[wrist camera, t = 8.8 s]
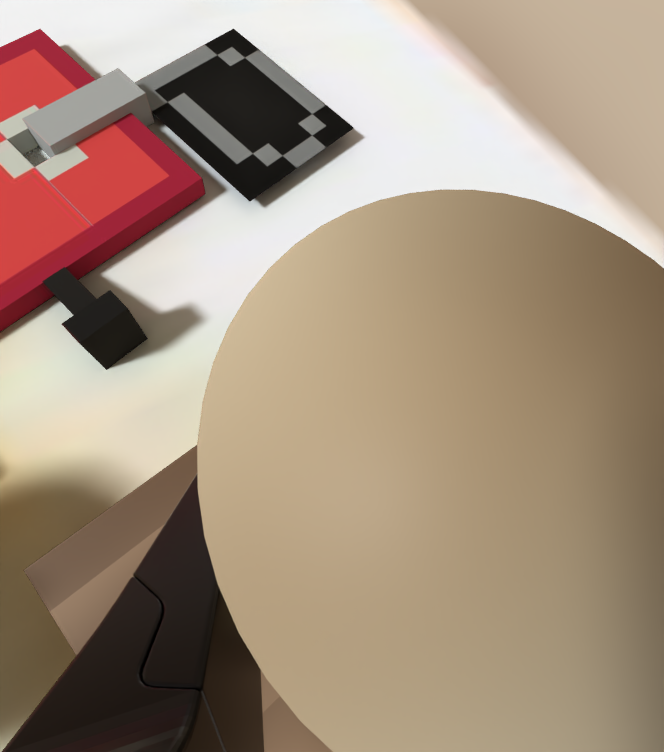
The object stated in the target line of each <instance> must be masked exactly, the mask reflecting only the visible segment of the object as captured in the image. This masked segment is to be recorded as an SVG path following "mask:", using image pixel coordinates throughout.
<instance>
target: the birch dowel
mask: <svg viewBox="0 0 664 752" xmlns="http://www.w3.org/2000/svg"><path fill="white" fill-rule="evenodd" d="M197 469H198V495H199V502H200V509H201V516H202V523H203V530H204V537H205V540H206V544H207V548H208V551H209V555H210V558H211V562H212V565H213V569H214V572H215V576H216V580H217V583H218V586H219V588H220V591H221V593H222V595H223V598H224V600H225V602H226V605H227V607H228V609H229V611H230V614H231V616H232V618H233V621H234V623H235V625H236V628H237V630H238V632H239V634H240V636H241V637H242V639H243V641H244V642H245V644H246V646H247V647H248V649H249V651H250V652H251V654H252V656H253V657H254V659H255V661H256V662H257V664H258V666H259V667H260V669H261V671H262V672H263V674H264V676H265V677H266V679H267V680H268V681H269V683H270V684H271V685H272V686H273V688H274V689H275V690H276V691H277V693H278V694H279V695H280V696H281V698H282V699H283V700H284V701H285V703H286V704H287V705H288V706H289V708H290V709H291V710H292V711H293V713H294V714H295V715H296V716H297V718H298V719H299V720H300V721H301V722H302V723H303V724H304V725H305V726H306V727H307V728H308V729H309V730H310V731H311V732H312V733H314V734H315V735H316V736H317V737H318V738H319V739H320V740H321V741H322V742H323V743H324V744H325V745H326V746H327V747H328V748H329V749H330V750H332V751H333V752H664V268H662V267H661V266H660V265H659V264H658V263H656V262H655V261H654V260H653V259H651V258H650V257H648V256H647V255H645V254H644V253H643V252H641V251H640V250H638V249H637V248H635V247H634V246H632V245H631V244H630V243H628V242H627V241H625V240H623V239H622V238H620V237H618V236H616V235H615V234H613V233H611V232H609V231H607V230H606V229H604V228H602V227H600V226H599V225H597V224H595V223H592V222H590V221H588V220H586V219H583V218H581V217H579V216H577V215H574V214H572V213H570V212H568V211H565V210H562V209H559V208H556V207H553V206H550V205H547V204H544V203H541V202H538V201H535V200H531V199H526V198H522V197H517V196H513V195H508V194H503V193H495V192H486V191H477V190H435V191H426V192H416V193H409V194H404V195H400V196H396V197H392V198H387V199H383V200H379V201H376V202H373V203H371V204H368V205H365V206H363V207H360V208H357V209H354V210H352V211H349V212H347V213H345V214H343V215H342V216H340V217H338V218H336V219H334V220H332V221H330V222H328V223H326V224H324V225H322V226H321V227H319V228H318V229H316V230H315V231H314V232H312V233H311V234H309V235H308V236H306V237H305V238H304V239H302V240H301V241H299V242H298V243H297V244H295V245H294V246H293V247H292V248H291V249H290V250H288V251H287V252H286V253H285V254H284V255H283V256H282V257H281V258H280V259H279V260H278V261H277V262H276V263H275V264H273V265H272V266H271V267H270V268H269V269H268V271H267V272H266V273H265V274H264V276H263V277H262V278H261V279H260V281H259V282H258V283H257V284H256V285H255V287H254V288H253V289H252V290H251V292H250V293H249V294H248V295H247V297H246V299H245V300H244V302H243V304H242V305H241V307H240V309H239V310H238V312H237V314H236V315H235V317H234V319H233V320H232V322H231V323H230V325H229V327H228V329H227V331H226V334H225V336H224V339H223V341H222V343H221V346H220V348H219V350H218V353H217V355H216V357H215V360H214V362H213V366H212V369H211V373H210V377H209V380H208V384H207V388H206V391H205V395H204V399H203V403H202V411H201V419H200V427H199V435H198V442H197Z"/></svg>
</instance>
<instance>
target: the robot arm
mask: <svg viewBox="0 0 664 752" xmlns="http://www.w3.org/2000/svg"><path fill="white" fill-rule="evenodd" d="M2 752H264V733H263V711H262V688H261V669H260V667H259V666H258V664H257V662H256V661H255V659H254V657H253V656H252V654H251V652H250V651H249V649H248V647H247V646H246V644H245V642H244V641H243V639H242V637H241V636H240V634H239V632H238V630H237V628H236V625H235V623H234V621H233V618H232V616H231V614H230V611H229V609H228V607H227V605H226V602H225V600H224V598H223V595H222V593H221V591H220V588H219V586H218V583H217V580H216V576H215V572H214V569H213V565H212V562H211V558H210V555H209V551H208V548H207V544H206V540H205V537H204V530H203V523H202V516H201V509H200V502H199V495H198V473H197V474H196V476H195V477H194V479H193V480H192V482H191V484H190V485H189V487H188V488H187V490H186V491H185V493H184V495H183V496H182V498H181V499H180V501H179V502H178V504H177V506H176V507H175V509H174V510H173V512H172V513H171V515H170V517H169V518H168V520H167V521H166V523H165V524H164V526H163V528H162V529H161V531H160V532H159V534H158V535H157V537H156V539H155V540H154V542H153V543H152V545H151V546H150V548H149V550H148V551H147V553H146V554H145V556H144V557H143V559H142V561H141V562H140V564H139V565H138V567H137V568H136V570H135V572H134V573H133V577H131V578H130V579H129V581H128V582H127V584H126V585H125V587H124V589H123V590H122V592H121V593H120V595H119V596H118V598H117V599H116V601H115V602H114V604H113V605H112V607H111V608H110V610H109V611H108V613H107V614H106V616H105V617H104V619H103V620H102V622H101V623H100V625H99V626H98V627H97V629H96V630H95V631H94V633H93V634H92V635H91V637H90V638H89V639H88V641H87V642H86V643H85V645H84V646H83V647H82V649H81V650H80V651H79V653H78V654H77V655H76V657H75V658H74V660H73V661H72V662H71V663H70V665H69V666H68V667H67V669H66V670H65V671H64V672H63V674H62V675H61V676H60V678H59V679H58V680H57V681H56V683H55V684H54V685H53V687H52V688H51V689H50V690H49V692H48V693H47V694H46V696H45V697H44V698H43V699H42V701H41V702H40V703H39V705H38V706H37V707H36V708H35V710H34V711H33V712H32V714H31V715H30V716H29V717H28V719H27V720H26V721H25V723H24V724H23V725H22V726H21V728H20V729H19V730H18V732H17V733H16V734H15V735H14V737H13V738H12V739H11V741H10V742H9V743H8V744H7V746H6V747H5V748H4V749H3V751H2Z"/></svg>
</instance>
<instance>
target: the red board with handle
mask: <svg viewBox="0 0 664 752" xmlns="http://www.w3.org/2000/svg"><path fill="white" fill-rule="evenodd" d="M151 112H152V113H153V114H154V115H155V116H156V117H158V118H159V119H160V120H161V121H162V122H163V123H164V124H165V125H166V126H167V127H169V128H170V129H171V130H172V131H173V132H174V133H175V134H176V135H177V136H178V137H180V138H181V139H182V140H183V141H184V142H185V143H186V144H187V145H188V146H189V147H191V148H192V149H193V150H194V151H195V152H196V153H197V154H198V155H199V156H200V157H201V158H203V159H204V160H205V161H206V162H207V163H208V164H209V165H210V166H211V167H212V168H214V169H215V170H216V171H217V172H218V173H219V174H220V175H221V176H222V177H223V178H225V179H226V180H227V181H228V182H229V183H230V184H231V185H232V186H233V187H234V188H236V189H237V190H238V191H239V192H240V193H241V194H242V195H243V196H244V197H245V198H247V199H248V200H249V201H251V200H253V199H254V198H256V197H257V196H258V195H260V194H261V193H263V192H264V191H265V190H267V189H268V188H270V187H271V186H273V185H274V184H275V183H277V182H278V181H280V180H281V179H282V178H284V177H285V176H287V175H288V174H289V173H291V172H292V171H294V170H295V169H297V168H298V167H299V166H301V165H302V164H304V163H305V162H306V161H308V160H309V159H311V158H312V157H314V156H315V155H316V154H318V153H319V152H321V151H322V150H323V149H325V148H326V147H328V146H329V145H331V144H332V143H333V142H335V141H336V140H338V139H339V138H340V137H342V136H343V135H345V134H346V133H347V132H349V131H350V130H352V129H353V127H352V126H351V125H350V124H348V123H347V122H346V121H345V120H343V119H342V118H341V117H340V116H339V115H337V114H336V113H335V112H334V111H333V110H331V109H330V108H329V107H328V106H327V105H325V104H324V103H323V102H322V101H320V100H319V99H318V98H317V97H316V96H314V95H313V94H312V93H311V92H310V91H308V90H307V89H306V88H305V87H304V86H302V85H301V84H300V83H299V82H297V81H296V80H295V79H294V78H293V77H291V76H290V75H289V74H288V73H287V72H285V71H284V70H283V69H282V68H280V67H279V66H278V65H277V64H276V63H274V62H273V61H272V60H271V59H270V58H268V57H267V56H266V55H265V54H264V53H262V52H261V51H260V50H259V49H257V48H256V47H255V46H254V45H253V44H251V43H250V42H249V41H248V40H247V39H245V38H244V37H243V36H242V35H240V34H239V33H238V32H237V31H236V30H234V29H232V30H230V31H229V32H227V33H225V34H223V35H221V36H219V37H218V38H216V39H214V40H212V41H210V42H208V43H207V44H205V45H203V46H201V47H199V48H197V49H195V50H194V51H192V52H190V53H188V54H186V55H184V56H183V57H181V58H179V59H177V60H175V61H173V62H172V63H170V64H168V65H166V66H164V67H162V68H161V69H159V70H157V71H155V72H153V73H151V74H149V75H148V76H146V77H144V78H142V79H140V80H138V81H137V82H135V83H134V82H133V81H132V80H131V79H130V78H128V77H127V76H126V75H125V74H124V73H123V72H122V71H121V70H120V69H118V68H117V69H116V70H114V71H112V72H110V73H108V74H106V75H104V76H102V77H100V78H98V79H97V80H95V79H94V78H93V77H92V76H91V75H90V74H89V73H87V72H86V71H85V70H84V69H83V68H82V67H81V66H80V65H79V64H78V63H77V62H76V61H74V60H73V59H72V58H71V57H70V56H69V55H68V54H67V53H66V52H65V51H64V50H62V49H61V48H60V47H59V46H58V45H57V44H56V43H55V42H54V41H53V40H52V39H51V38H49V37H48V36H47V35H46V34H45V33H44V32H43V31H42V30H41V29H39V30H36V31H34V32H32V33H30V34H28V35H26V36H24V37H21V38H19V39H17V40H15V41H13V42H11V43H8V44H6V45H4V46H2V47H0V332H1V331H2V330H4V329H5V328H7V327H8V326H10V325H11V324H13V323H14V322H16V321H17V320H19V319H20V318H22V317H23V316H25V315H26V314H28V313H29V312H31V311H32V310H34V309H35V308H37V307H38V306H40V305H41V304H43V303H44V302H45V301H47V300H48V299H50V298H51V297H53V296H54V295H55V296H56V297H57V298H58V299H59V300H60V301H61V302H62V303H63V304H64V305H65V306H66V308H67V309H68V310H69V311H70V312H71V313H72V314H73V315H74V316H72V317H71V318H69V319H68V320H66V321H65V322H64V323H62V325H63V326H64V327H65V328H66V329H67V330H68V332H69V333H70V334H71V335H72V336H73V337H74V338H75V339H76V340H77V341H78V342H79V343H80V344H81V345H82V346H83V347H84V348H85V349H86V350H87V351H88V352H89V353H90V354H91V355H92V356H93V357H94V358H95V359H96V360H97V361H98V362H99V363H100V364H101V365H102V366H103V367H104V368H105V369H106V370H107V369H108V368H109V367H111V366H112V365H113V364H115V363H116V362H117V361H119V360H120V359H121V358H123V357H124V356H125V355H127V354H128V353H129V352H131V351H132V350H133V349H135V348H136V347H137V346H139V345H140V344H141V343H143V342H144V341H145V340H147V339H148V338H147V337H146V335H145V334H144V332H143V331H142V329H141V328H140V326H139V325H138V323H137V322H136V320H135V319H134V317H133V316H132V314H131V313H130V311H129V310H128V308H127V307H126V306H125V305H124V304H123V303H122V302H121V301H120V300H119V299H118V298H117V297H116V296H115V295H114V294H113V293H112V292H111V291H110V290H109V291H108V292H107V293H105V294H104V295H102V296H101V297H99V298H98V299H96V298H95V297H94V296H93V295H92V294H91V293H90V292H89V291H88V290H87V289H86V288H85V287H84V286H83V285H82V284H81V283H80V282H79V281H78V279H80V278H81V277H83V276H84V275H86V274H87V273H89V272H90V271H92V270H93V269H95V268H96V267H97V266H99V265H100V264H102V263H103V262H105V261H106V260H108V259H109V258H111V257H112V256H114V255H115V254H117V253H118V252H120V251H121V250H123V249H124V248H126V247H127V246H129V245H130V244H132V243H133V242H135V241H136V240H138V239H139V238H141V237H142V236H144V235H145V234H147V233H148V232H149V231H151V230H152V229H154V228H155V227H157V226H158V225H160V224H161V223H163V222H164V221H166V220H167V219H169V218H170V217H172V216H173V215H175V214H176V213H178V212H179V211H181V210H182V209H184V208H185V207H187V206H188V205H190V204H191V203H193V202H194V201H196V200H197V199H198V198H200V197H201V196H203V195H204V194H205V189H204V185H203V180H202V178H201V177H200V176H199V175H198V174H197V173H196V172H195V171H194V170H193V169H192V168H191V167H190V166H188V165H187V164H186V163H185V162H184V161H183V160H182V159H181V158H180V157H179V156H178V155H177V154H175V153H174V152H173V151H172V150H171V149H170V148H169V147H168V146H167V145H166V144H165V143H163V142H162V141H161V140H160V139H159V138H158V137H157V136H156V135H155V134H154V133H153V132H152V131H150V130H149V129H148V128H147V126H149V125H151V124H153V123H154V119H153V116H152V113H151ZM38 146H39V147H40V148H41V149H42V150H43V151H44V152H45V153H46V154H47V155H48V156H49V157H50V159H48V160H46V161H44V162H42V163H41V164H39V165H37V166H35V167H34V166H33V165H32V164H31V162H30V161H29V160H28V159H27V158H26V157H25V156H24V155H23V154H25V153H27V152H29V151H31V150H33V149H35V148H36V147H38Z"/></svg>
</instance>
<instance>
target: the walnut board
mask: <svg viewBox="0 0 664 752" xmlns="http://www.w3.org/2000/svg"><path fill="white" fill-rule="evenodd" d="M197 473H198V469H197V445H196V446H195V447H193V448H192V449H191V450H189V451H188V452H187V453H185V454H184V455H182V456H181V457H180V458H178V459H177V460H175V461H174V462H173V463H171V464H170V465H169V466H167V467H166V468H164V469H163V470H162V471H160V472H159V473H157V474H156V475H155V476H153V477H152V478H150V479H149V480H148V481H146V482H145V483H144V484H142V485H141V486H139V487H138V488H137V489H135V490H134V491H132V492H131V493H130V494H128V495H127V496H126V497H124V498H123V499H121V500H120V501H119V502H117V503H116V504H114V505H113V506H112V507H110V508H109V509H108V510H106V511H105V512H103V513H102V514H101V515H99V516H98V517H96V518H95V519H94V520H92V521H91V522H89V523H88V524H87V525H85V526H84V527H83V528H81V529H80V530H78V531H77V532H76V533H74V534H73V535H71V536H70V537H69V538H67V539H66V540H65V541H63V542H62V543H60V544H59V545H58V546H56V547H55V548H53V549H52V550H51V551H49V552H48V553H47V554H45V555H44V556H42V557H41V558H40V559H38V560H37V561H35V562H34V563H33V564H31V565H30V566H28V567H27V568H26V569H24V572H25V573H26V575H27V577H28V578H29V580H30V581H31V583H32V585H33V586H34V588H35V589H36V591H37V593H38V594H39V596H40V598H41V599H42V601H43V602H44V604H45V606H46V607H47V609H48V611H49V612H50V614H51V615H52V617H53V619H54V620H55V622H56V624H57V625H58V627H59V628H60V630H61V632H62V633H63V635H64V637H65V638H66V640H67V641H68V643H69V645H70V646H71V648H72V650H73V651H74V653H75V654H76V655H77V654H78V653H79V651H80V650H81V649H82V647H83V646H84V645H85V643H86V642H87V641H88V639H89V638H90V637H91V635H92V634H93V633H94V631H95V630H96V629H97V627H98V626H99V625H100V623H101V622H102V620H103V619H104V617H105V616H106V614H107V613H108V611H109V610H110V608H111V607H112V605H113V604H114V602H115V601H116V599H117V598H118V596H119V595H120V593H121V592H122V590H123V589H124V587H125V585H126V584H127V582H128V581H129V579H130V578H131V577H133V573H134V572H135V570H136V568H137V567H138V565H139V564H140V562H141V561H142V559H143V557H144V556H145V554H146V553H147V551H148V550H149V548H150V546H151V545H152V543H153V542H154V540H155V539H156V537H157V535H158V534H159V532H160V531H161V529H162V528H163V526H164V524H165V523H166V521H167V520H168V518H169V517H170V515H171V513H172V512H173V510H174V509H175V507H176V506H177V504H178V502H179V501H180V499H181V498H182V496H183V495H184V493H185V491H186V490H187V488H188V487H189V485H190V484H191V482H192V480H193V479H194V477H195V476H196V474H197ZM261 688H262V711H263V733H264V752H333V751H332V750H330V749H329V748H328V747H327V746H326V745H325V744H324V743H323V742H322V741H321V740H320V739H319V738H318V737H317V736H316V735H315V734H314V733H312V732H311V731H310V730H309V729H308V728H307V727H306V726H305V725H304V724H303V723H302V722H301V721H300V720H299V719H298V718H297V716H296V715H295V714H294V713H293V711H292V710H291V709H290V708H289V706H288V705H287V704H286V703H285V701H284V700H283V699H282V698H281V696H280V695H279V694H278V693H277V691H276V690H275V689H274V688H273V686H272V685H271V684H270V683H269V681H268V680H267V679H266V677H265V676H264V674H263V672H262V671H261Z"/></svg>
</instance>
